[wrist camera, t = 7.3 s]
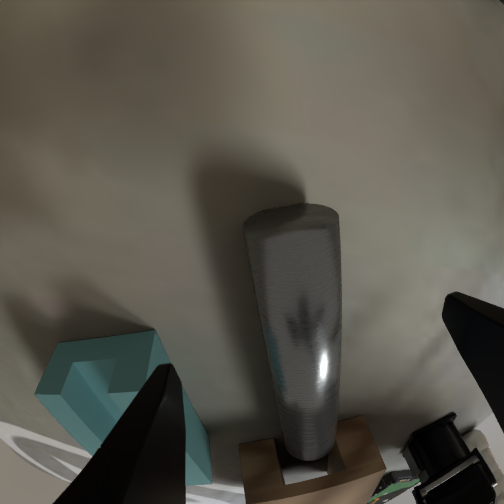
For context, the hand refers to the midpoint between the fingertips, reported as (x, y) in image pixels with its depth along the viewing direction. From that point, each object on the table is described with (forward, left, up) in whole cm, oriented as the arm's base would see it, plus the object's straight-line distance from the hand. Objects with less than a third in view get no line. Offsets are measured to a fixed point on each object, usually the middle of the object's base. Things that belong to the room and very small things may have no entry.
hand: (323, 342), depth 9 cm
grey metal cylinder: (0, +7, -5) cm, 9 cm away
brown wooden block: (0, +24, -7) cm, 25 cm away
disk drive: (-12, +48, -8) cm, 50 cm away
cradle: (+11, +10, -7) cm, 16 cm away
